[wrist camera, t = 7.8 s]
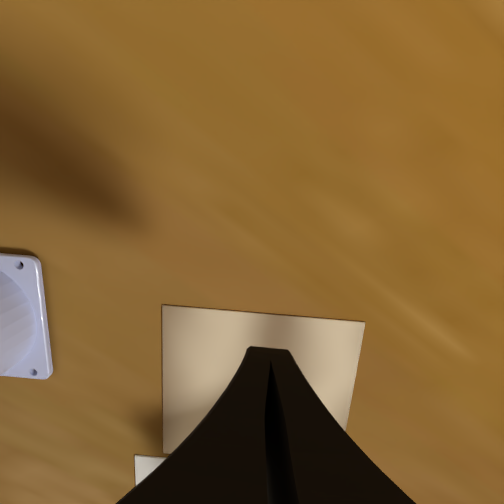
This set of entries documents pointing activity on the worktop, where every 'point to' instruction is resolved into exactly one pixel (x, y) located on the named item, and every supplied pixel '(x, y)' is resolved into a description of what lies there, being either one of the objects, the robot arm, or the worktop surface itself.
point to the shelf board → (233, 351)
